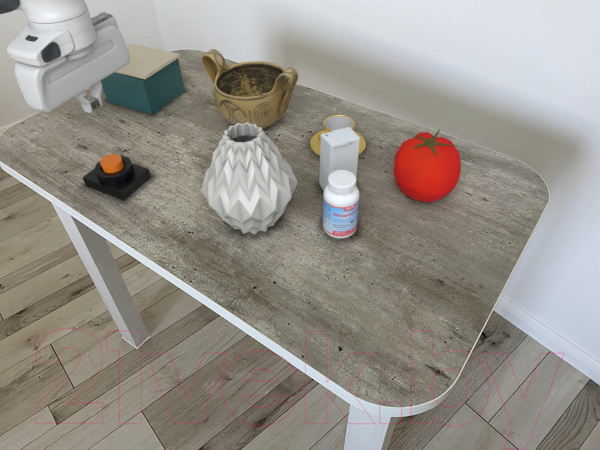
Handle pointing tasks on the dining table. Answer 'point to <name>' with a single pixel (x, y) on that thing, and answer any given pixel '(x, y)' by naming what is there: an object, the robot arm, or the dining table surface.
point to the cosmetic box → (338, 153)
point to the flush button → (112, 163)
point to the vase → (248, 179)
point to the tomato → (427, 167)
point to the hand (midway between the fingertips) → (93, 108)
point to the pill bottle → (340, 204)
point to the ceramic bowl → (250, 89)
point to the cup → (334, 124)
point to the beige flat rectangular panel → (146, 61)
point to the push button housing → (118, 179)
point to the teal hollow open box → (145, 89)
